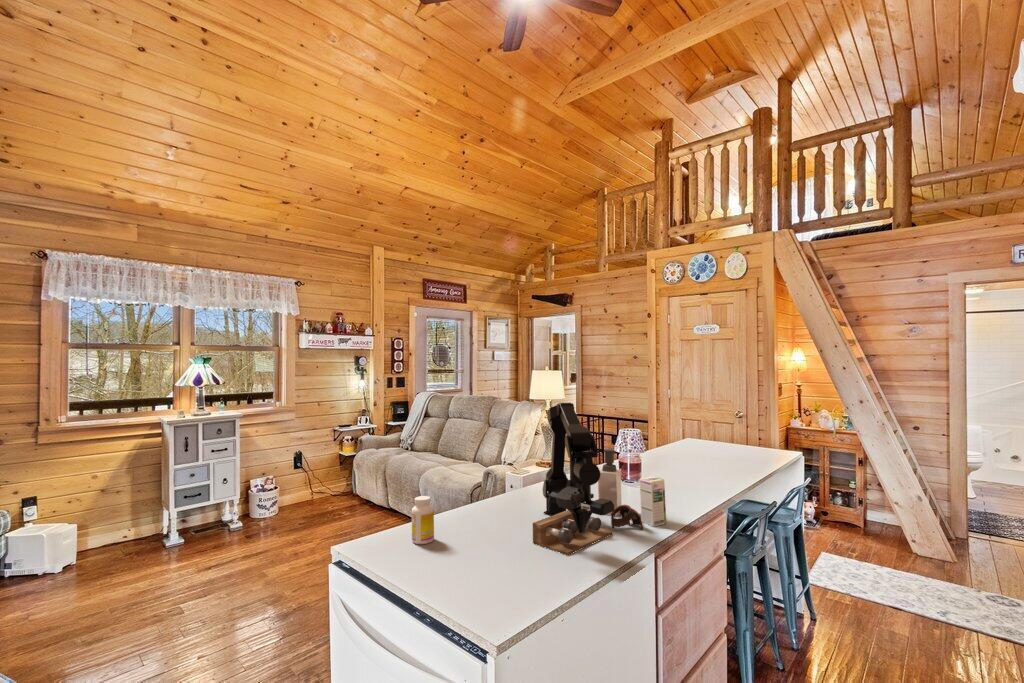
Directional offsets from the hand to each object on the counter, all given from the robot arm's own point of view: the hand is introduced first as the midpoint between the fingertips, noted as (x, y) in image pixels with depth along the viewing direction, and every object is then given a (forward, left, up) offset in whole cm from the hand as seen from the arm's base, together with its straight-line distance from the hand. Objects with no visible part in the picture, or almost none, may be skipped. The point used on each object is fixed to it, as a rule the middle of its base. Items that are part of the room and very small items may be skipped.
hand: (581, 532), depth 132 cm
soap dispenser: (-15, +37, -6) cm, 40 cm away
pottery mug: (-2, +27, -6) cm, 27 cm away
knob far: (-8, +14, -4) cm, 17 cm away
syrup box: (+2, +36, -6) cm, 36 cm away
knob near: (-8, 0, -4) cm, 9 cm away
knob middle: (-12, +7, -4) cm, 14 cm away
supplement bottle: (-41, -25, -6) cm, 48 cm away
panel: (-8, +7, -6) cm, 12 cm away
